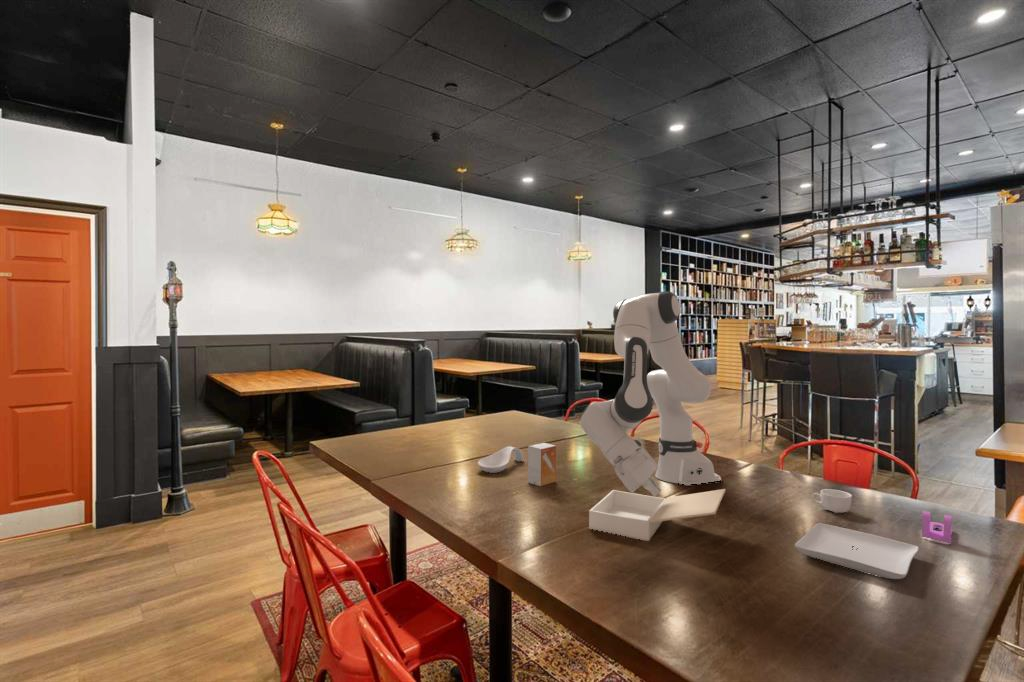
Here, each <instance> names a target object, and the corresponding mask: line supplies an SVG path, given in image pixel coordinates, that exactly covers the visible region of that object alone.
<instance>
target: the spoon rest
mask: <svg viewBox="0 0 1024 682" xmlns="http://www.w3.org/2000/svg"><path fill="white" fill-rule="evenodd" d="M512 452H513V453H512ZM512 454H514V458H513V459H514V461H515V460H516V462H520V461H522V462H521V463H524V462H525V455H524V454H523V451H522V450H521V449H520V448H519V447H513V446H505V447H504V448H502V449H500V450H498V451H496V452H494V453H492V454H490V455H488V456H485V457H483V458H481V459H479V460H478V461H477V465H478V467H479V468H480V469H481V471H484V472H485V473H488V472H489V474H498V472H499V473H501V471H502V472H503V471H504V470H505V469H506V468H507V467H508V465H509V462H510V460H511V456H512ZM523 461H524V462H523Z"/></svg>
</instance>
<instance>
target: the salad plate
mask: <svg viewBox="0 0 1024 682" xmlns="http://www.w3.org/2000/svg"><path fill="white" fill-rule="evenodd" d="M794 546H795V548H796V549H797V550H798V551H799V552H800V553H802V554H804V555H806V556H808V557H809V558H810V557H811V558H814V559H816V558H817V559H816V560H818V559H821V560H824V561H828V562H831V563H835V564H838V565H841V566H845V567H848V568H852V569H856V570H859V571H863V572H866V573H870V574H873V575H877V576H880V577H879V578H881V577H885V578H884V579H891V580H901V579H905V577H907V575H908V573H909V571H910V566H911V564H912V561H913V559H914V558H915V556H916V555H917V553H918V552H919V550H920V547H919V546H917V545H915V544H910V543H908V542H902V541H899V540H895V539H891V538H888V537H884V536H880V535H876V534H872V533H867V532H863V531H858V530H854V529H850V528H845V527H841V526H836V525H833V524H832V525H831V524H826V523H822V522H816V524H814V526H813V527H811V528H810V530H808V531H807V533H805V534H804V535H803V536H802V537H801V538H800V539H799V540H798V541H796V542H795V544H794ZM852 546H854V547H853V548H852ZM857 548H858V549H857ZM852 549H853V550H852ZM856 549H857V550H856ZM821 560H820V561H821ZM824 561H823V562H824ZM831 563H830V564H831ZM838 565H837V566H838ZM841 566H840V567H841ZM845 567H844V568H845ZM848 568H847V569H848ZM852 569H851V570H852ZM859 571H858V572H859ZM866 573H865V574H866ZM870 574H869V575H870ZM873 575H872V576H873ZM877 576H876V577H877Z"/></svg>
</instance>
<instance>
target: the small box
mask: <svg viewBox="0 0 1024 682" xmlns="http://www.w3.org/2000/svg"><path fill="white" fill-rule="evenodd" d="M527 453H528V455H527V461H528V462H527V465H528V467H527V469H528V470H527V483H528V484H531V485H534V484H535V485H534V486H538V487H543V486H546V485H549V484H553V483H556V482H557V481H556V480H557V477H556V476H557V445H554V444H550V443H548V442H547V443H546V442H541V443H536V444H531V445H528V450H527Z"/></svg>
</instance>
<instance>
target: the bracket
mask: <svg viewBox="0 0 1024 682" xmlns="http://www.w3.org/2000/svg"><path fill="white" fill-rule="evenodd" d="M952 519H953V517H952V515H947V514H944V515H943V523H940V522H937V521H931V512H930V511H927V510H923V511H922V519H921V538H922V537H927V538H931V539H934V540H939V541H943V542H947V543H951V544H952V537H951V535H952V536H953V527H952V525H953V524H952V523H953V522H952ZM934 526H937V527H941V528H942V530H937V529H934V530H933V527H934Z"/></svg>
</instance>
